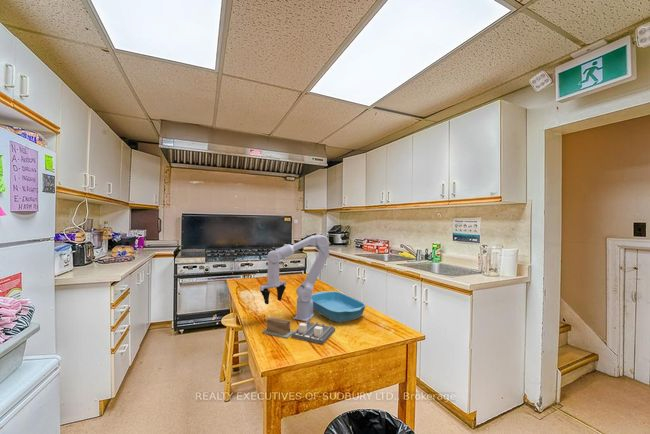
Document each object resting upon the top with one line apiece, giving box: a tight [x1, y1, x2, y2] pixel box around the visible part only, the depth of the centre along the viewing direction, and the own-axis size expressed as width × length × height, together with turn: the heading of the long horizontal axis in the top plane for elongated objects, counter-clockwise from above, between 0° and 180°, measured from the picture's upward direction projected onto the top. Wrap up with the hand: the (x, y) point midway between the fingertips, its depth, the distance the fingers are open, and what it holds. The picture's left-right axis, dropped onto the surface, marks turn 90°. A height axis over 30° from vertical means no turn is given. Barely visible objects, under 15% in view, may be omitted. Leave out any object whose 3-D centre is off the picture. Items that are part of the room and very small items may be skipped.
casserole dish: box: [311, 290, 366, 323], centre depth 146 cm, size 37×22×7 cm, turn 31°
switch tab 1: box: [297, 322, 307, 333], centre depth 117 cm, size 2×3×3 cm
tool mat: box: [261, 328, 295, 339], centre depth 119 cm, size 6×13×1 cm, turn 67°
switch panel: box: [290, 319, 336, 345], centre depth 119 cm, size 14×15×2 cm
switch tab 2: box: [314, 326, 323, 337], centre depth 114 cm, size 2×3×3 cm
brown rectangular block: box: [266, 316, 291, 335], centre depth 119 cm, size 4×10×5 cm, turn 67°
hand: (273, 302), depth 132 cm, fingers open, 7 cm apart
